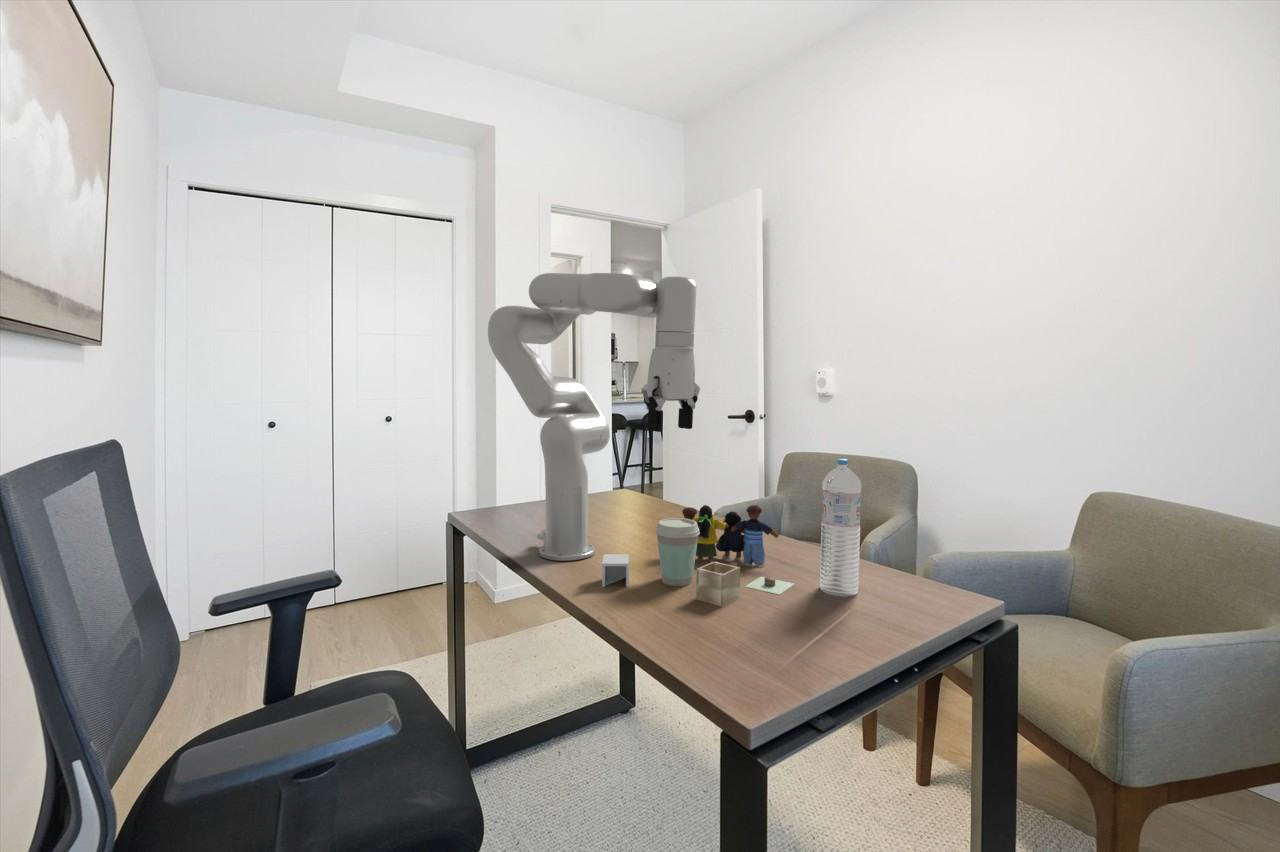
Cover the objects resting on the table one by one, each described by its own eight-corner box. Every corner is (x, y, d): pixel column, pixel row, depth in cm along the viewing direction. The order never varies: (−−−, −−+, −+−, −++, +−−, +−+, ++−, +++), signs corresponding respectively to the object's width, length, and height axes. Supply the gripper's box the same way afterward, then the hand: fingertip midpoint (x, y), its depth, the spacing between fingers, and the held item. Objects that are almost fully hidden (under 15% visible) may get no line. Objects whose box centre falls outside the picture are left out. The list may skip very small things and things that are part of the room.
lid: (744, 592, 113) (744, 580, 113) (761, 582, 118) (761, 570, 118) (779, 600, 109) (779, 587, 108) (794, 589, 114) (794, 577, 114)
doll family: (775, 558, 133) (776, 499, 132) (778, 571, 124) (779, 507, 123) (672, 553, 136) (672, 495, 135) (667, 565, 127) (668, 503, 126)
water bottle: (830, 583, 116) (834, 456, 114) (864, 592, 111) (869, 459, 109) (812, 592, 111) (816, 459, 109) (847, 602, 106) (851, 463, 104)
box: (696, 601, 106) (696, 568, 106) (713, 593, 111) (713, 561, 110) (723, 609, 103) (723, 575, 102) (739, 600, 107) (740, 567, 107)
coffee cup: (696, 592, 111) (697, 529, 110) (651, 589, 113) (651, 526, 112) (701, 577, 119) (702, 518, 118) (659, 574, 121) (659, 516, 120)
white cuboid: (603, 578, 118) (603, 554, 118) (629, 578, 119) (629, 554, 118) (602, 589, 113) (602, 563, 112) (628, 589, 113) (628, 563, 112)
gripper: (685, 344, 125) (681, 425, 127) (630, 339, 112) (627, 430, 114) (715, 344, 120) (710, 429, 122) (661, 340, 107) (657, 434, 109)
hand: (670, 429), depth 118 cm, fingers open, 9 cm apart
